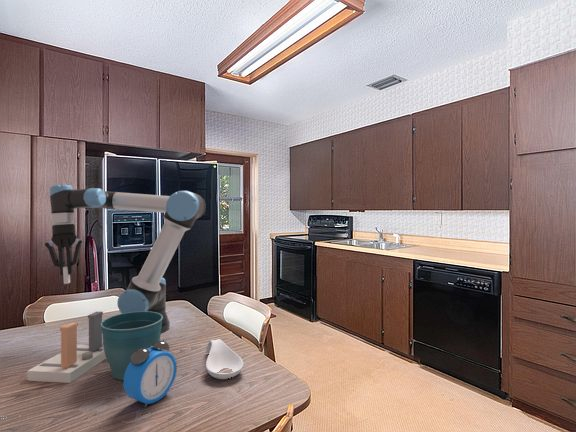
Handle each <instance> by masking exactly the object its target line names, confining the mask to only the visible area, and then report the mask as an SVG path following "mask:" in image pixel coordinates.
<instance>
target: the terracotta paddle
mask: <svg viewBox="0 0 576 432" xmlns="http://www.w3.org/2000/svg"><path fill="white" fill-rule="evenodd" d="M78 326H79V322H69V323H67V324H64V325H62V326H60V327H59V331H60V332H61V333H60V353H61V367H62V368H68V367H69V366H71V365H72V364H74V363H76V362H77V345H78V344H77V343H78V342H77V341H78V339H77V336H78Z"/></svg>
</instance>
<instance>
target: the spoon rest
mask: <svg viewBox="0 0 576 432" xmlns="http://www.w3.org/2000/svg"><path fill="white" fill-rule="evenodd" d="M206 353H209V355H207V358H206V362H205V369H206V371H207V373H208V374H209V375H210V376H211V377H213V378H214V379H217V380H228V378H229V379H231V377H232V378H235V376H237V375H239V373H241V371H242V370H243V368H244V360H243V359H242V357H240V355H239V354H237V353H236V352H235V351H234V350H232V348H230V347H229V346H228V345H227V344H226V343H225V342H224V341H223V340H222V339H220V338H218V339H211V340H209V341H208V343H207V345H206V351H205V354H206ZM223 368H229V369H232V371H233V372H231V373H217V372H219V371H220V370H221V369H223Z"/></svg>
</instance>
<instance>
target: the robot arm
mask: <svg viewBox="0 0 576 432" xmlns="http://www.w3.org/2000/svg"><path fill="white" fill-rule="evenodd" d="M49 199H50V200H49V201H50V209H51V210H50V211H51V212H50V213H51V214H50V215H51V224H53V225H52V226H51V231H52V235H51V240H49V241H48V242H45V243H44V246H45V247H46V248H47V250H48V252H49V255H50V259H51V260H52V263H53V266H54V267H58V268H59V273H60V276H62V277H63V285H66V284H67V285H68V284H70V283H71V275H73V273H74V271H73V267H74V266H75V265H76V264H78V262H79V258H80V253H81V247H82V245H83V243H85V242H84V240H83V239H79V238H78V236H77V234H76V225H75V224H74V223H75V209H86V208H90V209H105V210H106V209H107V210H109V209H110V210H120V211H121V210H125V211H133V212H135V211H137V212H147V213H148V212H149V213H160V214H161V213H162V214H163V213H164V214H163V216H162V217H163V220H164V223H163V226H162V227H161V229H160V231H159V234H158V235H157V238H156V239H155V241H154V244H153V245H152V247H151V248H150V251H149V253H148V256H147V257H146V260H145V261H144V264H143V265H142V267H141V270H140V271H139V273H138V275H137V276H133V277H132V279H131V280H130V282H129V284H128V286H127V288H126V290H123V291H122V292H121V293H120V295H119V296H118V298H117V303H116V304H117V308H118V310H119V312H120V314H123V313H129V312H138V311H150V312H157V313H160V314H161V315H162V316H163V320H162V327H161V332H162V333H165V332H166V331H168V330H169V329H170V328H169V327H171V326H170V319H169V317H168V314H167V312H166V308H167V307H166V295H167V293H166V292H167V291H166V288H167V287H166V286H167V283H166V279H165V278H164V277H163V276H164V275H165V273H166V270H168V269H167V268H168V267H169V264H170V263H171V261H172V259H173V257H174V256H175V252H176V250H177V249H178V246H179V244H180V243H181V240H182V238H183V237H184V234H185V232H187V231H189V230H191V229H192V227H193V226H194V224H195V221H196V220H198V219H199V218H201V217H202V216H203V214H205V212H206V201H205V199H204V198H203V197H202V196H201V195H200V194H198V193H197V192H196V193H195V192H192V191H189V190H178V191H175V192H174V193H172V194H171V195H157V194H147V193H145V194H144V193H133V192H132V193H131V192H122V191H121V192H120V191H119V192H118V191H105V190H103V189H102V188H99V187H98V188H97V187H96V188H95V187H91V188H79V189H73V185H69V184H54V185H51V187H50V188H49ZM74 244H76V245H75V247H74V248H75V249H74V253H72V252H73V251H72V249H73V245H74ZM54 245H55V246H56V247H57V251H58V255H57V253H56V250H55V247H54ZM65 253H66V257H65ZM65 258H66V259H65Z"/></svg>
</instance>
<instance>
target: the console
mask: <svg viewBox="0 0 576 432" xmlns="http://www.w3.org/2000/svg"><path fill="white" fill-rule="evenodd" d="M105 360H107V358H106V355H105V352H104V346H103V345H102V347H101V348H99V349H97V350H96V351H89V344H77V362H76V363H74V364H72V365H71V366H69V367H68V368H62V367H61V352H59V353H58V354H56V355H54V356H52V357H50V358H48V359H46V360H44V361H43V362H40V363H39V364H37V365H35V366H34V367H32V368H30V369H28V370H27V371H26V373H27V374H26V381H27V382H28V381H30V382H44V383H45V382H48V383H65V384H68V383H69V384H71V383H72V382H75V380H77V379H79V377H81V376H82V375H84V374H85V373H87V372H88V371H90V370H91V369H93V368H94V367H95V366H98V365H99V364H100V363H103V362H104V361H105Z"/></svg>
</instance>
